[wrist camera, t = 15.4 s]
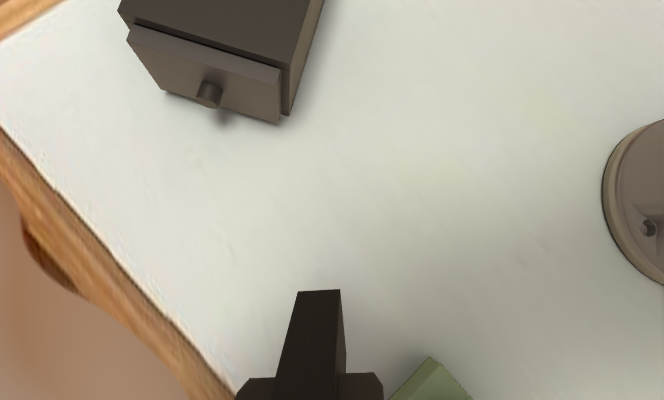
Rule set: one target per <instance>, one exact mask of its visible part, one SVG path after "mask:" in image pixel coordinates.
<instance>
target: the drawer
mask: <svg viewBox="0 0 664 400" xmlns="http://www.w3.org/2000/svg"><path fill="white" fill-rule="evenodd" d="M126 41H127V42H128V44H129V45H130V47H131V48H132V49H133V51H134V52H135V54H136V55H137V56H138V58H139V59H140V61H141V62H142V63H143V65H144V66H145V68H146V69H147V70H148V72H149V73H150V75H151V76H152V77H153V79H154V80H155V82H156V83H157V84H158V86H159V87H160V89H162V90H165V91H169V92H172V93H175V94H179V95H182V96H186V97H189V98H192V99H195V100H196V101H197V102H198V103H200V104H201V105H203V106H206V107H209V108H214V109H215V108H218V106H219V107H223V108H226V109H230V110H233V111H236V112H240V113H243V114H246V115H250V116H253V117H257V118H260V119H263V120H267V121H270V122H273V123H277V124H278V121H279V118H280V115H281V112H282V97H281V69H279V68H278V67H277V66H274V65H271V64H268V63H264V62H261V61H258V60H255V59H251V58H248V57H245V56H242V55H238V54H235V53H232V52H229V51H225V50H222V49H219V48H216V47H212V46H209V45H206V44H203V43H199V42H196V41H193V40H190V39H186V38H183V37H180V36H176V35H173V34H170V33H167V32H164V33H161V32H158V31H155V30H152V29H148V28H145V27H142V26H139V25H135V24H133V25H132V27H131V30H130V32H129V34H128V37H127V39H126Z"/></svg>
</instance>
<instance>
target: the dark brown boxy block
mask: <svg viewBox="0 0 664 400" xmlns="http://www.w3.org/2000/svg"><path fill="white" fill-rule="evenodd" d="M323 3H324V0H121V3H120V5H119V8H118V10H117V11H118V13H119V15H120V16H121V18H122V19H123V20H124V22H125V23H126V25H127V26H128V28H129V29H130V30H131V27H132V25H133V24H135V25H139V26H142V27H145V28H148V29H152V30H155V31H158V32H161V33H164V32H167V33H170V34H173V35H176V36H180V37H183V38H186V39H190V40H193V41H196V42H199V43H203V44H206V45H209V46H212V47H216V48H219V49H222V50H225V51H229V52H232V53H235V54H238V55H242V56H245V57H248V58H251V59H255V60H258V61H261V62H264V63H268V64H271V65H274V66H277V67H278V68H279V69H281V97H282V112H281V114H283V115H287V116H289V115H290V112H291V108H292V105H293V102H294V99H295V95H296V92H297V89H298V85H299V82H300V79H301V75H302V72H303V69H304V66H305V62H306V59H307V56H308V52H309V49H310V46H311V43H312V39H313V36H314V33H315V29H316V26H317V23H318V20H319V16H320V13H321V10H322V6H323Z"/></svg>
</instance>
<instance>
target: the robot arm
mask: <svg viewBox="0 0 664 400" xmlns="http://www.w3.org/2000/svg"><path fill="white" fill-rule="evenodd" d="M603 204H604V210H605V214H606V219H607V222H608V225H609V227H610V230H611V232H612V234H613V236H614V238H615V240H616V242H617V244H618V245H619V247H620V248H621V250H622V251H623V253H624V254H625V255H626V257H627V258H628V259H629V260H630V261H631V262H632V263H633V264H634V265H635V266H636V267H637V268H638V269H639V270H640V271H642V272H643V273H644V274H645V275H647V276H648V277H650V278H651V279H653V280H655V281H657V282H659V283H661V284H663V285H664V119H663V120H660V121H657V122H654V123H652V124H649V125H646V126H644V127H641V128H639V129H637V130H635V131H634V132H632V133H631V134H629V135H628V136H627V137H625V138H624V139H623V140H622V141H621V142H620V143H619V145H618V146H617V147H616V149H615V150H614V152H613V153H612V155H611V157H610V159H609V162H608V164H607V167H606V170H605V175H604V181H603ZM235 400H384V395H383V386H382V384H381V383H380V381H379V380H378V378H377V377H376V375H375V373H374V372H368V373H346V346H345V336H344V326H343V315H342V305H341V294H340V289H335V290H317V291H299V292H298V293H297V297H296V301H295V304H294V308H293V312H292V316H291V320H290V323H289V327H288V331H287V335H286V339H285V343H284V346H283V350H282V354H281V358H280V362H279V365H278V369H277V373H276V377H272V378H249V380H248V381H247V382H246V383H245V384H244V385H243V387H242V388H241V389H240V390H239V391H238V392H237V395H236V397H235Z"/></svg>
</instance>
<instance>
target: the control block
mask: <svg viewBox="0 0 664 400" xmlns="http://www.w3.org/2000/svg"><path fill="white" fill-rule="evenodd" d="M389 400H473V399H472V398H471V397H470V396H469V395H468V394H467V392H466V391H465V390H464V389H463V388H462V387H461V386H460V385H459V383H458V382H457V381H456V380H455V379H454V378H453V377H452V376H451V374H450V373H449V372H448V371H447V370H446V369H445V368H444V367H443V365H442V364H441V363H439V362H437V361H436V360H434V359H433V358H431V357H429V358H428V359H427V360H426V361H425V363H424V364H423V365H422V366H421V367H420V368H419V369H418V370H417V371H416V372H415V373H414V374H413V375H412V376H411V377H410V378H409V379H408V380H407V381H406V383H405V384H404V385H403V386H402V387H401V388H400V389H399V390H398V391H397V392H396V393H395V394H394V395H393V396H392V397H391V398H390V399H389Z"/></svg>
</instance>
